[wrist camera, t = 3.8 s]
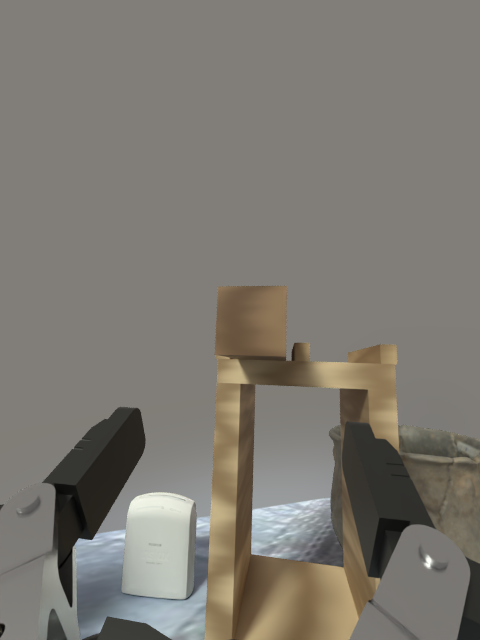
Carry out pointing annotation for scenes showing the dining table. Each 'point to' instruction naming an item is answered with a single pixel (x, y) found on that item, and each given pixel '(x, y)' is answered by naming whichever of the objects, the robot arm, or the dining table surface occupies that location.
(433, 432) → the pot
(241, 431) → the rack
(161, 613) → the dining table surface
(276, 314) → the block
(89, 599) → the dining table surface
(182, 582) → the photo printer
